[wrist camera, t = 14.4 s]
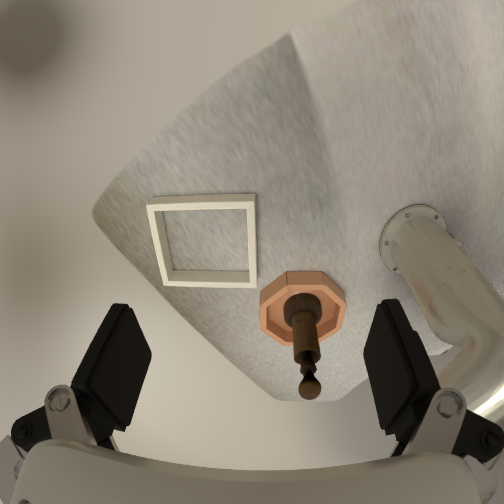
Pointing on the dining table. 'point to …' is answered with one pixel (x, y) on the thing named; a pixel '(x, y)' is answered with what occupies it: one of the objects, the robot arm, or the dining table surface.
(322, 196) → the dining table surface
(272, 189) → the dining table surface
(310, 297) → the dark brown knobbed post
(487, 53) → the dining table surface
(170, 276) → the open rectangular frame
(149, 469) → the robot arm
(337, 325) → the terracotta bowl
